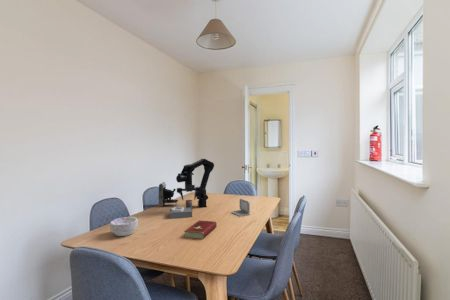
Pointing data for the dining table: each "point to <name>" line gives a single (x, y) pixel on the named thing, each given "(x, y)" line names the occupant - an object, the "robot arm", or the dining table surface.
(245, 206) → the handheld gaming console
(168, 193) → the vintage camera
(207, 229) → the hardcover book
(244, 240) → the dining table surface
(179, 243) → the dining table surface
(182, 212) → the octagon ring plate
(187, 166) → the robot arm
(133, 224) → the speckled grey bowl
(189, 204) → the lens
